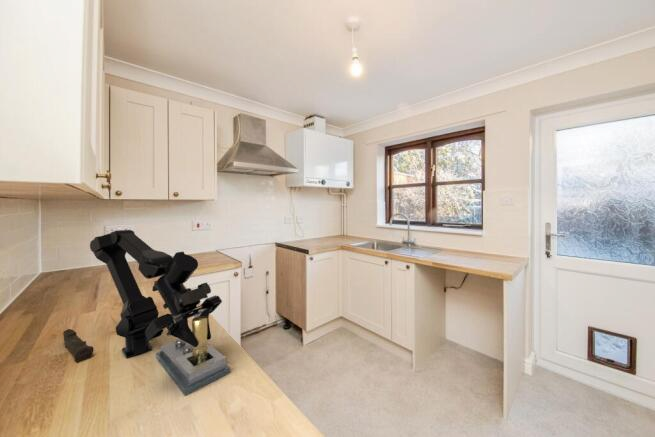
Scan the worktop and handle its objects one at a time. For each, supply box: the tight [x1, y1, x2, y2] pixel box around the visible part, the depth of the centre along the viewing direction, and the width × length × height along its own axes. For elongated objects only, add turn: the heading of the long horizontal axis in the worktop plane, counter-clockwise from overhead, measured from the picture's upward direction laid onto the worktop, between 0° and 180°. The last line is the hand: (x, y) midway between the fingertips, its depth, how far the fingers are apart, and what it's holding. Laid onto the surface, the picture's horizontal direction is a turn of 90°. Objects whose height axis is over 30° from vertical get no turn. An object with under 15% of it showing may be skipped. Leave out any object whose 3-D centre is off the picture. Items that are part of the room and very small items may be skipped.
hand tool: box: [62, 328, 94, 364], centre depth 77 cm, size 19×4×5 cm, turn 55°
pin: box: [191, 316, 208, 366], centre depth 66 cm, size 4×4×12 cm
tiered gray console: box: [155, 338, 231, 397], centre depth 70 cm, size 22×11×4 cm, turn 49°
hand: (203, 342), depth 65 cm, fingers closed on pin, 3 cm apart
